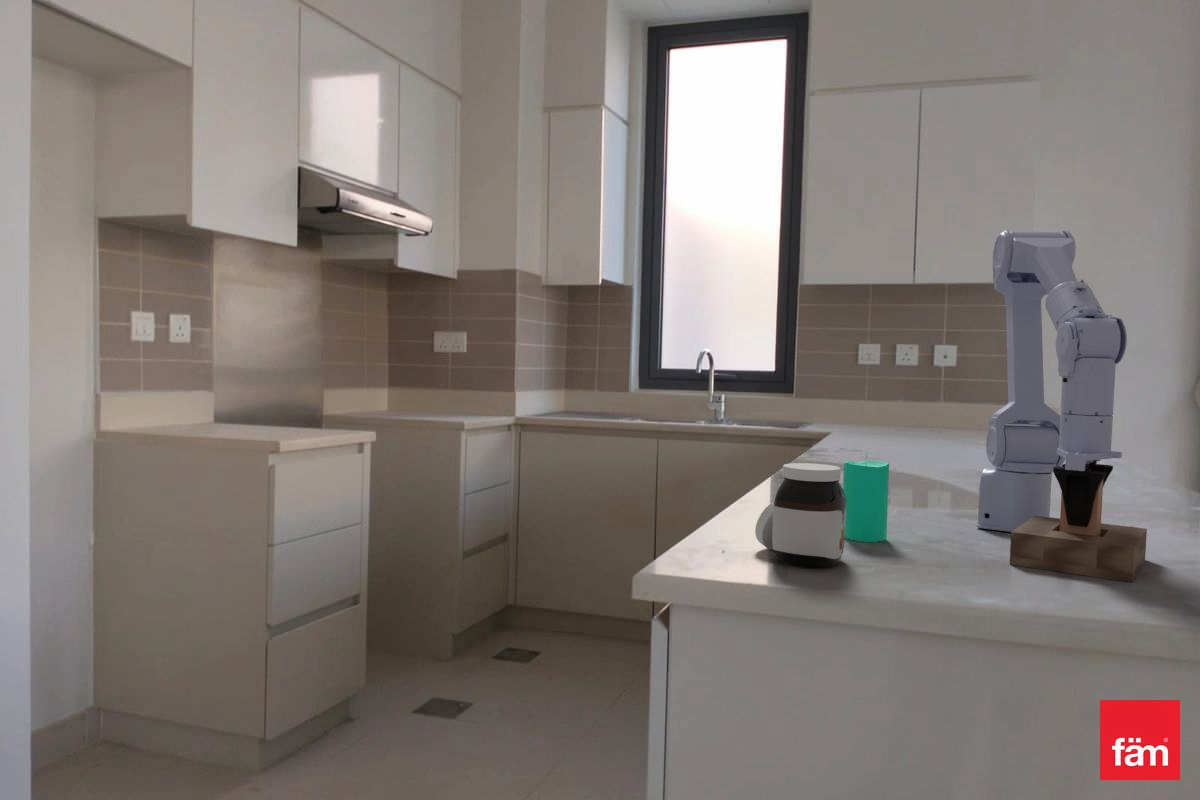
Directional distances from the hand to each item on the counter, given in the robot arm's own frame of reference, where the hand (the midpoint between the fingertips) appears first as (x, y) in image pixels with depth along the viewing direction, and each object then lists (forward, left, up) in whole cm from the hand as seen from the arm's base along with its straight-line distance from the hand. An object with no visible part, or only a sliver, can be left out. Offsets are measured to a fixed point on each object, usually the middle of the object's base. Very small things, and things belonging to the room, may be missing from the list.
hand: (1080, 523), depth 110 cm
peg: (0, 0, -2) cm, 2 cm away
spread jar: (-28, -22, -5) cm, 36 cm away
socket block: (0, 0, -5) cm, 5 cm away
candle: (-26, -4, -5) cm, 27 cm away
